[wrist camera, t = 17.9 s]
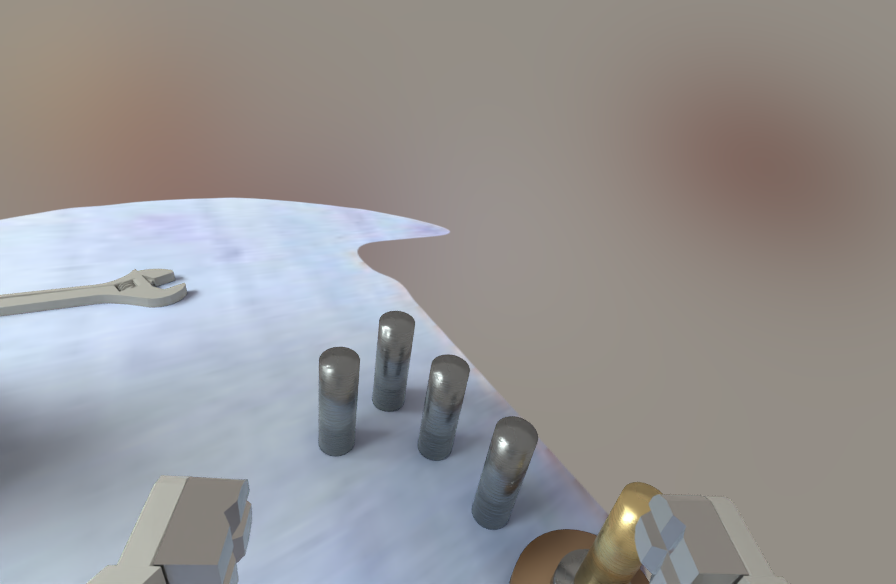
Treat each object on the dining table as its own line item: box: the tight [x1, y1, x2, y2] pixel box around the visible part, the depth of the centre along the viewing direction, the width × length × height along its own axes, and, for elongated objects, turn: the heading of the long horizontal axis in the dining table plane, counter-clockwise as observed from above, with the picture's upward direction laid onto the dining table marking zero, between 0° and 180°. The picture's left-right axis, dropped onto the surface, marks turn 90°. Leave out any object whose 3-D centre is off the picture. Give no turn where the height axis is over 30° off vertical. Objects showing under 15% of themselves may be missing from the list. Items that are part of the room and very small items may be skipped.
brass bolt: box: [550, 482, 662, 584], centre depth 34 cm, size 6×6×12 cm
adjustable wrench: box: [0, 269, 187, 316], centre depth 57 cm, size 25×6×2 cm, turn 110°
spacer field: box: [318, 311, 538, 530], centre depth 45 cm, size 15×17×10 cm
